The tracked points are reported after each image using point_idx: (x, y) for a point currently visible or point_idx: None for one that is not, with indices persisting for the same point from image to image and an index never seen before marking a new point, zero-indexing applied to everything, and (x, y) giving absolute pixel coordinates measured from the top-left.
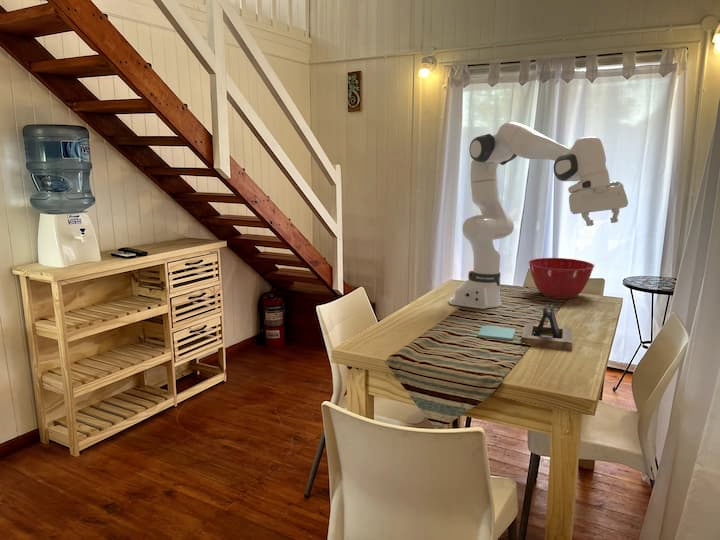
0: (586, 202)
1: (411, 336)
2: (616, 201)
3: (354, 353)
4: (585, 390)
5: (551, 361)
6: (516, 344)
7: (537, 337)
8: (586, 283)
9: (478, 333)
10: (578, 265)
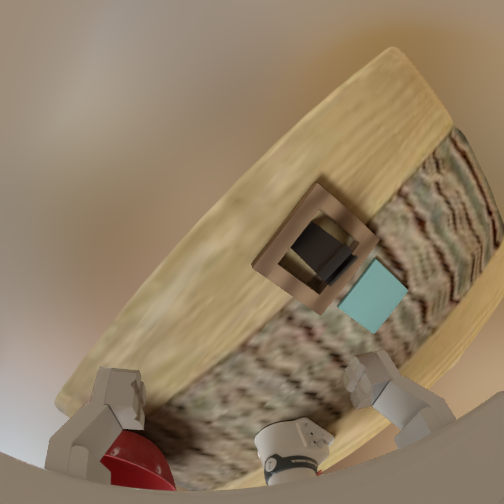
0: (495, 479)
1: (462, 307)
2: None
3: None
4: (388, 58)
5: (376, 150)
6: None
7: (356, 229)
8: None
9: (404, 295)
10: None
